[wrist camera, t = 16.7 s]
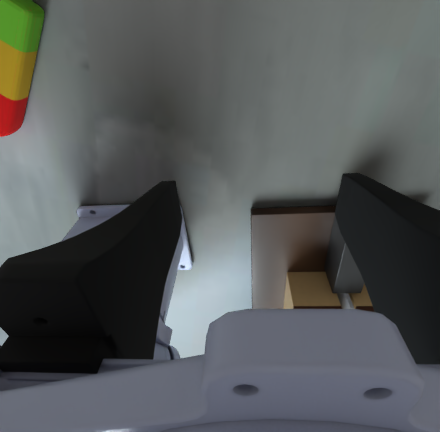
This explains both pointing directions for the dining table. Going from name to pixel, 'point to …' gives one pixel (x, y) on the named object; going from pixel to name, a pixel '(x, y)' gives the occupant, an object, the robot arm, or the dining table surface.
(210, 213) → the dining table surface
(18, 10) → the popsicle
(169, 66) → the dining table surface
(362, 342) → the robot arm
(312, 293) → the cake
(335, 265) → the cake knife
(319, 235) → the board
